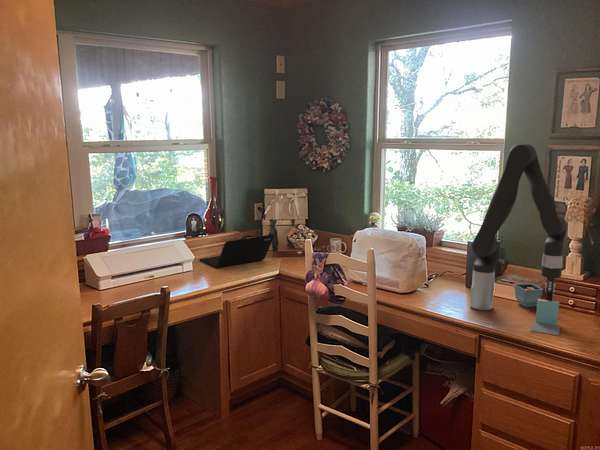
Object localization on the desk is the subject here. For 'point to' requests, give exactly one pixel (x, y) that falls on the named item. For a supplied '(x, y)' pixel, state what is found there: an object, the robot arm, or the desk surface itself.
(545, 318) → the tile
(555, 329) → the mat
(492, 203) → the robot arm
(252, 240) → the laptop
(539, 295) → the flower pot
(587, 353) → the desk surface
